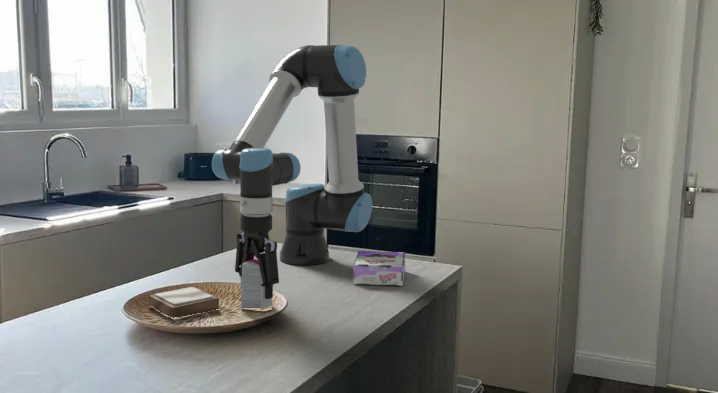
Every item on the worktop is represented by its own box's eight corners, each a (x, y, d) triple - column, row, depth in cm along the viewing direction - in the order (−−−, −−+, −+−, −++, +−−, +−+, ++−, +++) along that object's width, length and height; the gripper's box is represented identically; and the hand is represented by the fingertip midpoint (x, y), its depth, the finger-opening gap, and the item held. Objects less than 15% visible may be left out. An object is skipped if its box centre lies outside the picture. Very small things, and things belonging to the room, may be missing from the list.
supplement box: (264, 312, 170) (264, 265, 168) (240, 310, 171) (240, 263, 169) (272, 305, 176) (272, 259, 174) (249, 303, 177) (248, 257, 175)
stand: (148, 307, 172) (148, 293, 171) (193, 298, 180) (193, 285, 179) (173, 320, 163) (172, 306, 162) (219, 310, 171) (218, 296, 170)
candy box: (405, 251, 208) (404, 265, 192) (405, 271, 209) (403, 287, 193) (358, 249, 209) (352, 263, 193) (358, 269, 210) (352, 285, 194)
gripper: (219, 209, 175) (220, 299, 178) (268, 222, 160) (268, 320, 163) (245, 206, 180) (245, 293, 183) (295, 218, 165) (294, 314, 168)
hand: (256, 306), depth 173 cm, fingers closed on supplement box, 8 cm apart
